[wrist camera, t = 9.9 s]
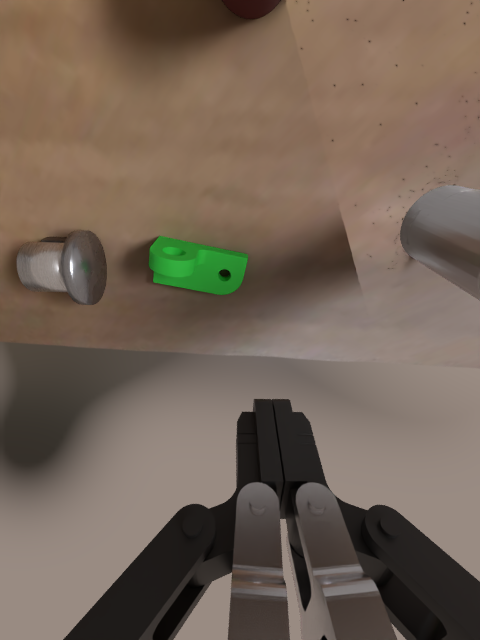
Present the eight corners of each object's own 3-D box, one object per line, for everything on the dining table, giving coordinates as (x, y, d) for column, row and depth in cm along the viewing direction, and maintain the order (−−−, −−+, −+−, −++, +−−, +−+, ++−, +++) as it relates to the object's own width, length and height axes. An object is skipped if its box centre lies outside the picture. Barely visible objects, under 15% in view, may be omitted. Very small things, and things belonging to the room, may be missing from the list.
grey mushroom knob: (98, 222, 39) (64, 242, 31) (111, 286, 43) (84, 318, 35) (43, 221, 38) (-6, 240, 31) (61, 285, 43) (24, 316, 35)
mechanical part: (156, 276, 43) (141, 302, 36) (159, 235, 40) (144, 254, 33) (238, 292, 44) (239, 319, 37) (247, 253, 41) (250, 275, 34)
